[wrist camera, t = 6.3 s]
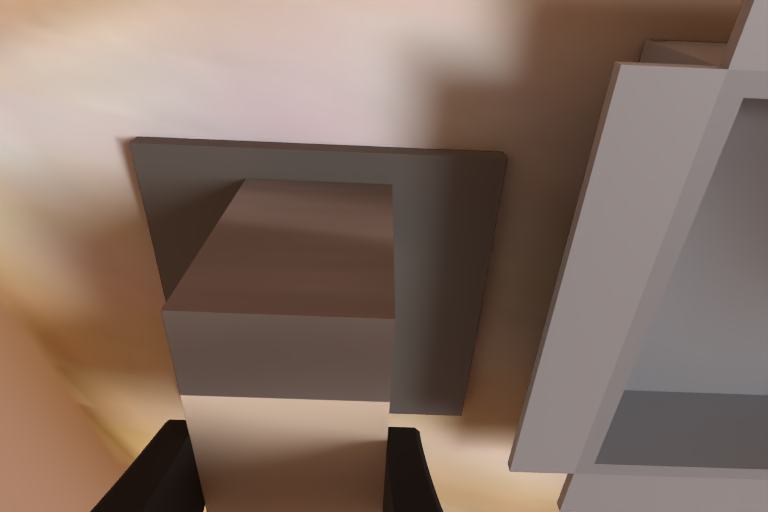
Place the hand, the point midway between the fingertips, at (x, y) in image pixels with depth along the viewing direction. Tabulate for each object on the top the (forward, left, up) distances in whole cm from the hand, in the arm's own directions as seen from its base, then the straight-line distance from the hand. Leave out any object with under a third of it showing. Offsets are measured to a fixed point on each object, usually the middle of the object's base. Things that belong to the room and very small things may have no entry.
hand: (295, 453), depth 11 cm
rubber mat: (0, 0, -6) cm, 6 cm away
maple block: (0, 0, -6) cm, 6 cm away
